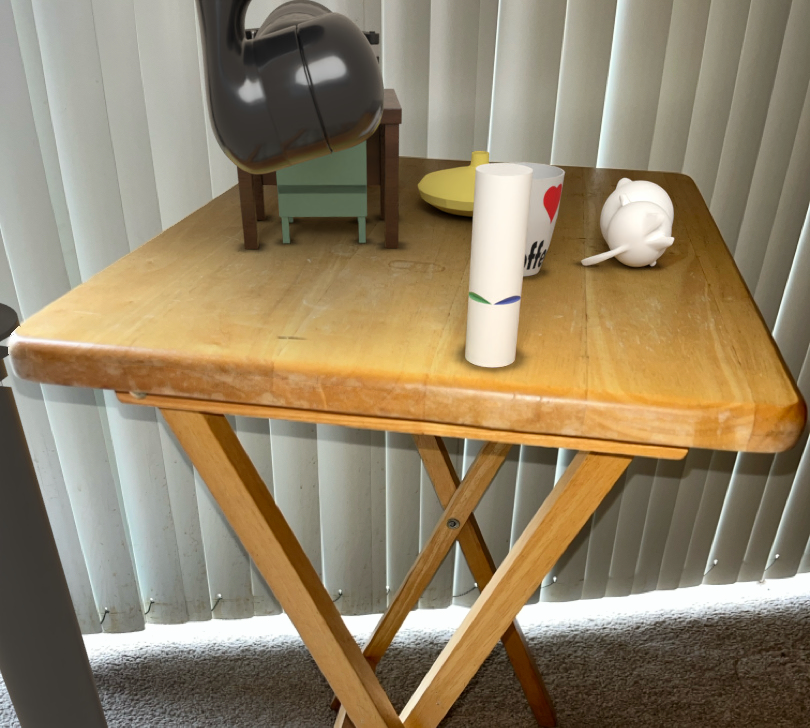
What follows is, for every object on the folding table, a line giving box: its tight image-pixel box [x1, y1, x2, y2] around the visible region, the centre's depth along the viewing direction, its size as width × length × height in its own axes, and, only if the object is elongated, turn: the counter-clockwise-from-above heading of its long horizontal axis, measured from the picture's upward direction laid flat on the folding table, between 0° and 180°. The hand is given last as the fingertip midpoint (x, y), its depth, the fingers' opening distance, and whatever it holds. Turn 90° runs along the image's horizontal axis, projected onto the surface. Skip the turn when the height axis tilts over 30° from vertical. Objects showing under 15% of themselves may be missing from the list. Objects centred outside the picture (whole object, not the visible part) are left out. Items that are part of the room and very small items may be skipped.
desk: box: [236, 88, 403, 250], centre depth 97 cm, size 14×18×14 cm
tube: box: [464, 162, 533, 368], centre depth 67 cm, size 4×4×15 cm
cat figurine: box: [580, 177, 675, 268], centre depth 92 cm, size 9×11×12 cm
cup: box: [506, 161, 566, 277], centre depth 88 cm, size 8×8×10 cm
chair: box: [276, 140, 368, 244], centre depth 98 cm, size 10×10×12 cm
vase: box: [417, 150, 490, 217], centre depth 108 cm, size 16×16×7 cm
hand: (308, 37), depth 77 cm, fingers closed
